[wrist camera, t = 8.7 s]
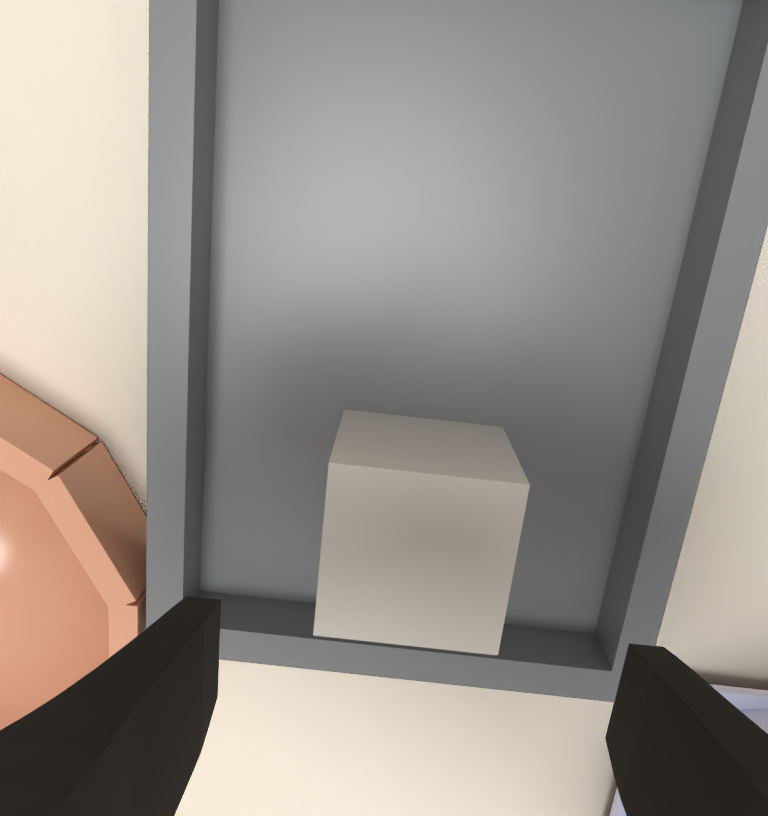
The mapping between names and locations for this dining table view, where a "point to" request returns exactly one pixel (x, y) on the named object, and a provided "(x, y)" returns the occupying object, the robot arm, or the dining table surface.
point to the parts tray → (446, 295)
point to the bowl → (61, 554)
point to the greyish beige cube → (419, 533)
